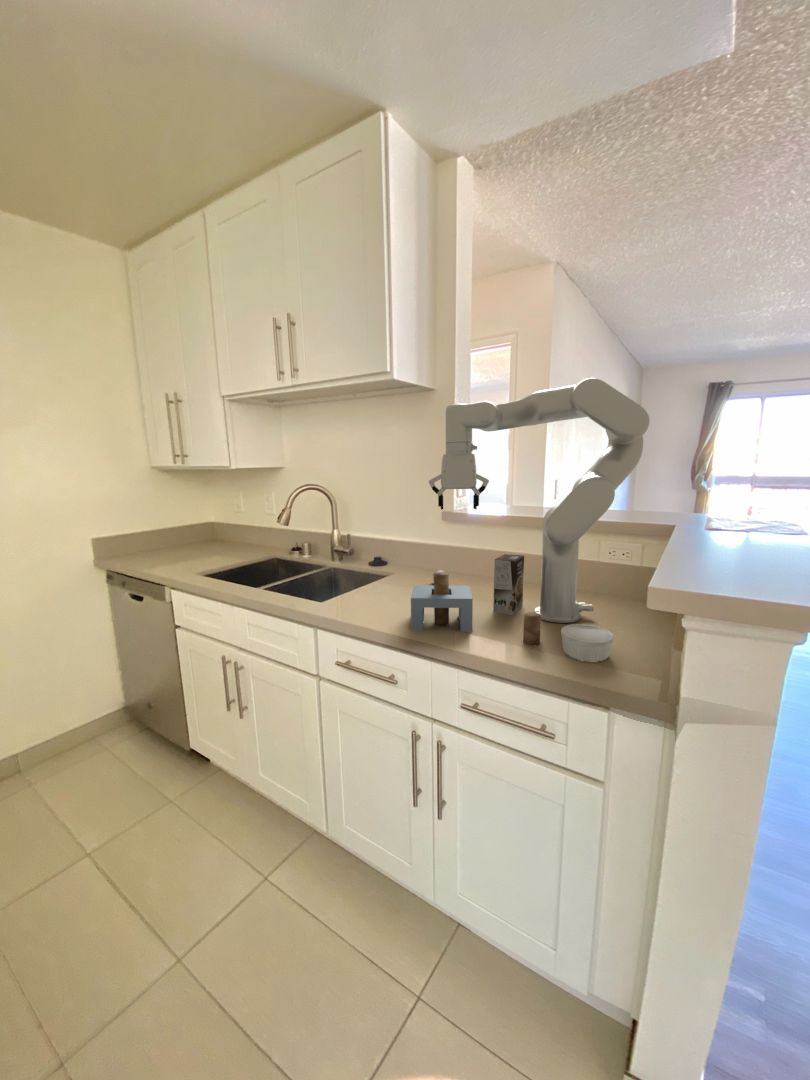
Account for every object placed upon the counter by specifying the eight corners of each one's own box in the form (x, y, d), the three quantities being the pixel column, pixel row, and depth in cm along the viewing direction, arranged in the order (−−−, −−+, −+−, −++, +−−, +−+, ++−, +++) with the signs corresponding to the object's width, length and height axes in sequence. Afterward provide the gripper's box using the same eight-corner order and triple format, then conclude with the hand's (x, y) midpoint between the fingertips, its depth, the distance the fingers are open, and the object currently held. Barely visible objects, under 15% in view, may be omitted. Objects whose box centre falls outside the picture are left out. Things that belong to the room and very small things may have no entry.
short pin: (538, 639, 108) (539, 612, 107) (541, 645, 104) (542, 618, 103) (521, 638, 108) (522, 612, 107) (524, 645, 104) (525, 617, 103)
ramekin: (601, 644, 105) (602, 623, 104) (621, 665, 94) (623, 642, 93) (554, 643, 105) (555, 623, 104) (568, 665, 94) (569, 642, 93)
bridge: (469, 615, 125) (469, 585, 124) (472, 631, 113) (472, 598, 112) (414, 615, 126) (413, 585, 125) (411, 630, 115) (410, 598, 113)
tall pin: (448, 620, 122) (448, 572, 119) (449, 625, 118) (448, 575, 115) (434, 620, 122) (433, 572, 120) (434, 625, 118) (433, 575, 116)
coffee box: (513, 615, 125) (515, 561, 122) (492, 612, 128) (493, 558, 125) (523, 606, 132) (525, 555, 129) (503, 603, 135) (504, 553, 133)
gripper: (487, 449, 127) (486, 507, 130) (428, 450, 128) (429, 507, 131) (490, 448, 119) (489, 510, 123) (428, 449, 121) (428, 510, 124)
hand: (458, 508), depth 127 cm, fingers open, 9 cm apart
